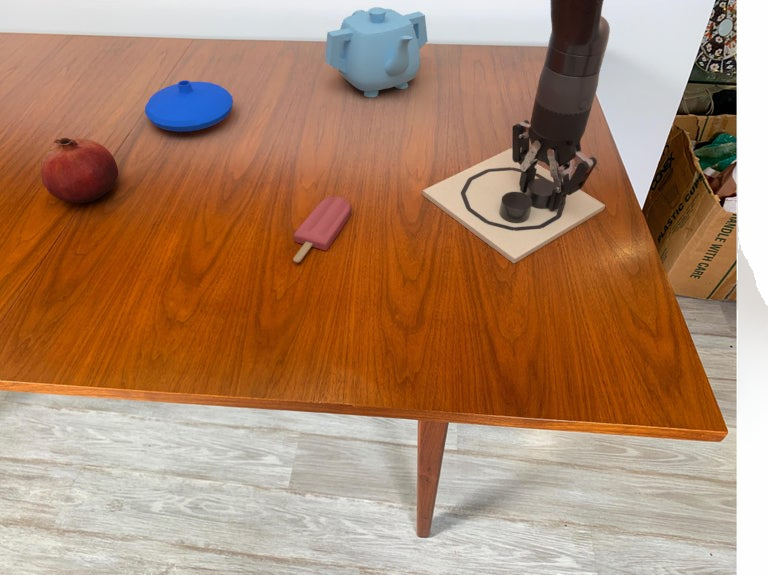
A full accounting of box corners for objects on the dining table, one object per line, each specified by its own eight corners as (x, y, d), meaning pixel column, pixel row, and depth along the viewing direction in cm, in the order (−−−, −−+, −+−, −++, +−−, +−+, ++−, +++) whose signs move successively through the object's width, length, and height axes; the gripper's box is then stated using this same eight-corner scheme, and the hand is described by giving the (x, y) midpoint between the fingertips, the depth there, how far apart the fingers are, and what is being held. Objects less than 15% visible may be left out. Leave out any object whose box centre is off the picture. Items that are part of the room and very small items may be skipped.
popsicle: (277, 252, 81) (326, 192, 90) (279, 260, 82) (326, 200, 91) (312, 262, 79) (357, 200, 89) (313, 270, 80) (357, 208, 90)
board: (603, 210, 90) (605, 204, 89) (513, 264, 81) (515, 258, 81) (510, 152, 101) (511, 147, 100) (422, 195, 92) (422, 189, 92)
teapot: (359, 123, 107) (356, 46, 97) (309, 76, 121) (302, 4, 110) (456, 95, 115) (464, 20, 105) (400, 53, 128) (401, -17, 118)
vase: (204, 149, 102) (195, 112, 96) (131, 131, 106) (118, 94, 100) (251, 107, 112) (245, 71, 107) (182, 92, 116) (173, 57, 111)
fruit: (56, 222, 88) (27, 166, 80) (52, 186, 94) (24, 131, 87) (129, 204, 91) (108, 148, 84) (120, 170, 97) (99, 116, 90)
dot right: (560, 201, 90) (564, 188, 88) (540, 212, 88) (543, 199, 86) (538, 187, 92) (541, 174, 90) (518, 198, 90) (521, 185, 89)
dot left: (535, 215, 87) (538, 202, 86) (514, 227, 85) (517, 214, 84) (513, 201, 90) (516, 187, 88) (493, 212, 88) (495, 198, 86)
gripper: (626, 110, 75) (592, 213, 88) (542, 69, 83) (522, 169, 95) (589, 128, 72) (559, 232, 84) (505, 84, 80) (489, 185, 92)
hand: (539, 198), depth 90 cm, fingers open, 5 cm apart
